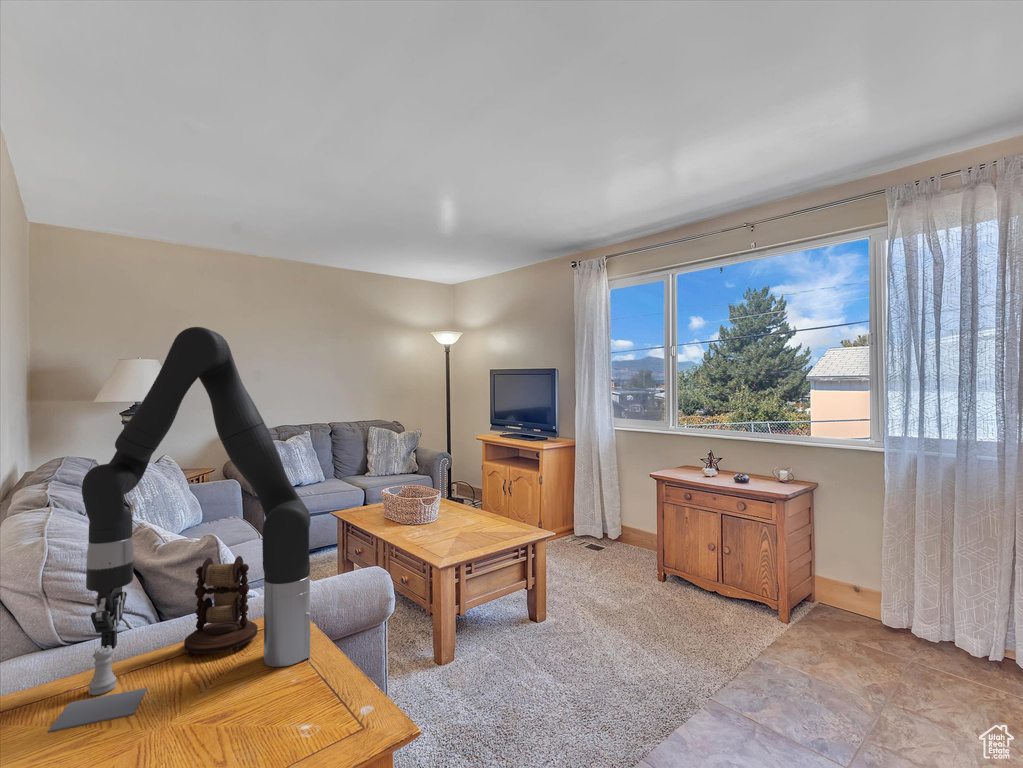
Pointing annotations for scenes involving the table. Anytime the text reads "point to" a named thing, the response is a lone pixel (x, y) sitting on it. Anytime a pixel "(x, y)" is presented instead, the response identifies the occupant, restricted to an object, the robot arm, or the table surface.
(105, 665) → the rook chess piece
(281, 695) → the table surface
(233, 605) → the wooden spool holder
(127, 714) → the felt mat
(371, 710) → the table surface
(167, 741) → the table surface
